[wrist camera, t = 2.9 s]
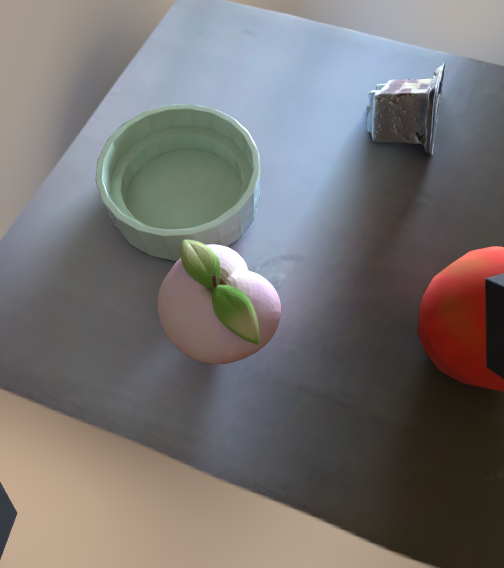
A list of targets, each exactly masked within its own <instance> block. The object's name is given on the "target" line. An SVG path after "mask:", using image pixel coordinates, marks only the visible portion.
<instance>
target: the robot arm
mask: <svg viewBox="0 0 504 568" xmlns="http://www.w3.org/2000/svg"><path fill="white" fill-rule="evenodd" d="M485 303H486V367H487V368H488V369H490V370H491V371H493V372H494V373H495V374H497V375H498V376H499V377H501V378H502V379H504V273H503V274H499V275H496V276H492V277H489V278H485ZM16 515H17V512H16V510H15V508H14V506H13V504H12V502H11V501H10V499H9V497H8V495H7V493H6V492H5V490H4V488H3V486H2V484H1V483H0V559H1V556H2V553H3V551H4V548H5V545H6V543H7V540H8V537H9V534H10V531H11V529H12V526H13V524H14V521H15V518H16Z"/></svg>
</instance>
